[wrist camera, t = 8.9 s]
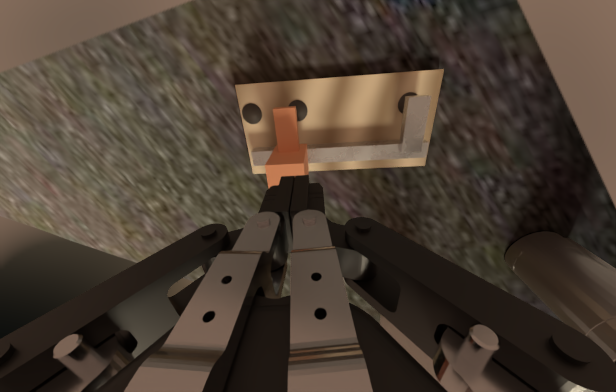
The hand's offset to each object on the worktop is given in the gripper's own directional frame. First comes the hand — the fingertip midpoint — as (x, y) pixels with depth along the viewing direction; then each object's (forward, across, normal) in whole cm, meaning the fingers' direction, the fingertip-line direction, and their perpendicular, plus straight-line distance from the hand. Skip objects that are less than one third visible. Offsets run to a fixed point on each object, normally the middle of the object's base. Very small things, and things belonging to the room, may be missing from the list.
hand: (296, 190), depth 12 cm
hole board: (+21, -4, +1) cm, 21 cm away
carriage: (+19, +2, +2) cm, 19 cm away
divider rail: (+19, -4, +2) cm, 20 cm away
